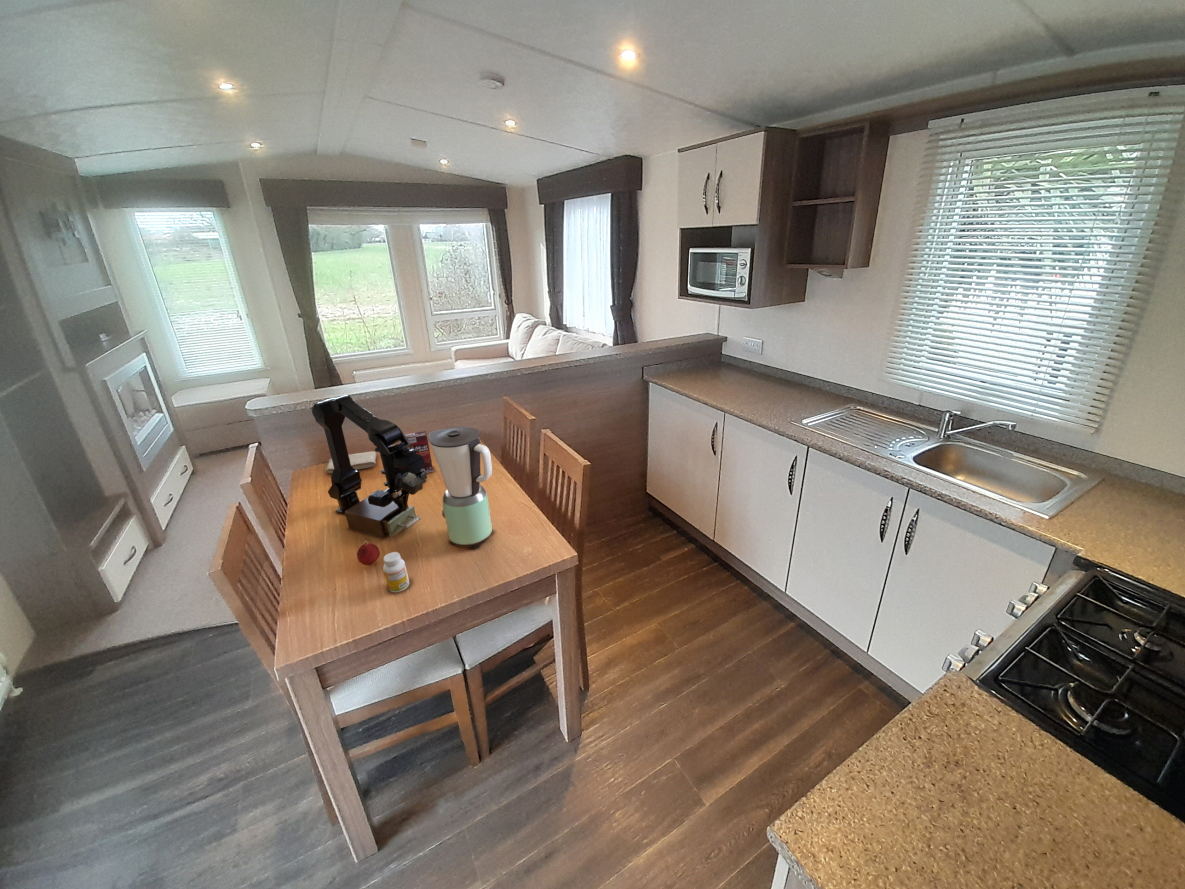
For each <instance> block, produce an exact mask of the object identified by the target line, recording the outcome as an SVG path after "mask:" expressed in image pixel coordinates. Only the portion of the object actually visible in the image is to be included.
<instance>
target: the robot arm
mask: <svg viewBox="0 0 1185 889" xmlns="http://www.w3.org/2000/svg"><path fill="white" fill-rule="evenodd" d="M311 413H312V416H313V418H314V420H315V422H316V423H317V424H318V425H319V426H320V427H322V428H323V430H324V435H325V438H326V442H327V445H328V450H329V454H330V459H331V458H332V462H333V466H334V471H333V473H332V474H331V475H330V482H331V486H330V487H329V489H328V491H327V494H328V495H329V497H330V498H331V499H334V500H336V501H337V504H338V508H336V510H335V512H337V513H340V514H344V515H345V511H346V510H348V509H350V508H351V507H353V506H354V505H356V504H357V503H359V502H360V498H359V496H358V493H357V491H360V490H361V489H362V482H363V480H362V478H361V473H360V471H359V470H355V469H354V468H353V467H351V463H350V459H349V455H350V454H349V452H348V447H347V442H346V439H345V434H344V430H343V424H344V422H345V419H346V418H347V419H348V420H349V421H351V422H352V423H354V424H355V425H356V426H358V427H359V428H360V429H362V430H363V431H364V432H365V433H367V437H368V440H369V441H370V442H371V443H372V444H373V445H374V447H375V448H374V452H376V453H379V456H380V459H381V460H380V461H381V464H382V468H383V469H382V470H380V473H381V474H382V475H383V476H385V477H384V478H385V480H386V481H385V482H384V483H383V485H384V487H387V489H385V490H381V489H376V490H375V491H374V492H372V493H370V494H369V495H368V496H367V497H368V502H369V504H371V505H375V506H379V507H386V506H387V505H389V504H390V503H392V501H393V502H394V503H395V504H396V505H397V506H398V507H399V508H400V509H401V510H402V511H405V510H406V509H407V504H408V502H409V497H410V495H416V494H417V493H418V492H419V491H421V490H422V489H423V487H424V484H425V483H426V482H427V479H428V477H427V473H426V472H425V471H424V470H422V468H423V466H424V458H423V457H422V456H421V455H419V454H416V450H410V449H407V447H409V446H411V444H410V442H409V441H408V438H407V437H406V436H405V435H404V432H403V430H401V427H399V426H398V425H397V424H396V423H394V422H391V421H390V420H387V419H381V418H379V417H376V416H375V415H374V414H372V413H371V412H370V411H369V410H367V409H365V408H364V407H362V405H360V404H359V403H357V402H355V401H354V400H353V398H352V397H351V395H348V394H347V395H346V394H344V395H342V396H339V397H331V398H328V399H326V400H325V399H324V400H322V401H319V402H317V403H314V405H313V406H311ZM396 443H397V444H396Z"/></svg>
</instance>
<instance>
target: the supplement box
mask: <svg viewBox="0 0 1185 889" xmlns="http://www.w3.org/2000/svg"><path fill="white" fill-rule="evenodd" d="M403 434H404V433H403ZM404 435H405V436H406V437H407V438H408V441H409V442H410V444H411V446H409V447H407V449H410V450H416V454H419V455H421V456H422V457H423V458H424V466H423V468H422V470H424V471H425V472H426V474H428V473H433V472H434V467H433V461H432V456H431V451H430V446H429V438H428V435H427V431H426V430H423V431H418V432H411V433H406V434H404Z"/></svg>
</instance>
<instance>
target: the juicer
mask: <svg viewBox="0 0 1185 889" xmlns="http://www.w3.org/2000/svg"><path fill="white" fill-rule="evenodd" d="M480 435H481V433H480V431H479V430H478V429H477V428H475V427H472V426H453V427H452V426H451V427H448V428H447V427H446V428H441V429H436V430H433V431H430V432H429V435H428V437H429V443H430V446H431V450H432V453H433V455H434V458H435V462H436V463H437V466H438V468H439V471H440V474H441V477H442V480H443V482H444V486H445V488H446V490H445V491H444V493H443V496H442V508H443V509H442V510H441V515H442V517H443V518H444V519H445V525H446V531H447V535H448V539H449V542H450V544H453V545H456V546H458V547H463V548H464V547H465V548H466V547H470V549H472V550H476V549H477V548H478V547H479V546H478V545H480V544H482V543H484V542H485V541H487V540H488V539H489V538H490V537H491V535H492V534H493V525H492V518H491V512H490V511H491V510H490V505H489V504H490V503H489V498H488V493H487V490H486V489H485V488H484V486H483V485H482V484H481V483H485V482H487V481H488V480H489V479H490V478H491V477H492V474H493V463H492V455H491V452H490V449H489V447H488V446H486V445H485V444H481V440H480ZM481 457H482V464H483V475H482V473H481Z"/></svg>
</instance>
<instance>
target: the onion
mask: <svg viewBox="0 0 1185 889" xmlns="http://www.w3.org/2000/svg"><path fill="white" fill-rule="evenodd" d="M380 555H381V552H380V548H379V547H378V546H377V545H376V544H374V543H372V542H369V540H364V541H363V543H362V544H361V545H360V546H359V547H358V549H357V551H356V558H357V560H358V563H360V564H362V565H363V566H372V565H374V564H375V563H376V562H378V560H379V558H380Z"/></svg>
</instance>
